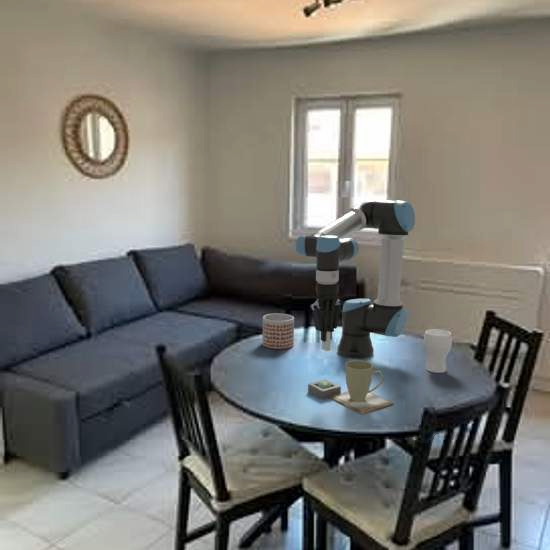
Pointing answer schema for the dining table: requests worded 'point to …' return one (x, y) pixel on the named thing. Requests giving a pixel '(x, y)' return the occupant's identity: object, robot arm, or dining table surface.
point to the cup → (437, 349)
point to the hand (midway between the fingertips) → (326, 349)
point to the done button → (324, 384)
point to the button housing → (323, 390)
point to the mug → (360, 379)
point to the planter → (278, 331)
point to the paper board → (362, 402)
